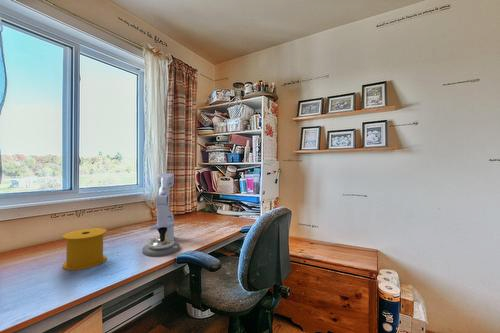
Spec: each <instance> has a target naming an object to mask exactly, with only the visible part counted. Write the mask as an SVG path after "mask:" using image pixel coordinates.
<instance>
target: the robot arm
mask: <svg viewBox="0 0 500 333" xmlns="http://www.w3.org/2000/svg"><path fill="white" fill-rule="evenodd" d="M174 179H175V175H174V173H173V172H172V173H164V172H163V173H160V172H159V173H158V174H157V183H158V186H159V189H158V194H157V196H156V199H155V203H156V213H157V214H156V223H155V224H153V225H150V226H148V231H150V232H151V231H154V230H157V232H158V233H159V238H160V241H164V236H165V234H167V238H170V237H173V238H174V239H175V238H176V237H175V236H174V234H175V233H174V231H175V229H174V227H175V226H176V222H175V221H174V220H175V219H174V213H173V212H171V211H170V189H171V187H172V186H174V183H175V180H174Z"/></svg>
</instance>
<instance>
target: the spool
mask: <svg viewBox="0 0 500 333" xmlns="http://www.w3.org/2000/svg"><path fill="white" fill-rule="evenodd" d="M107 232H108V231H107V229H106V228H101V227H99V228H96V227H95V228H84V229H83V228H82V229H76V230H74V231H70V232H67V233H66V232H65V233H64V234H63V235H62V239H63V240H65V241H66V255H65V256H66V261H65V262H63V263H62V265H61V266H62V269H63V270H65V271H79V270H85V269H90V268H94V267H96V266H97V267H98V266H99V265H101V264H103V263H105V262H106V260H107V255H105V254H104V235H105V234H107Z"/></svg>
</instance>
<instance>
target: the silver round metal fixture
mask: <svg viewBox="0 0 500 333" xmlns="http://www.w3.org/2000/svg"><path fill="white" fill-rule="evenodd" d="M174 242H175V238H173V237H170V238H167V234H165V236H164V241H160V237H158V238H155V237H152V238H150V240H149V241H148V243H147V244H148V248H149V249H150V250H165V249H169V248H171V247H173V246H174Z"/></svg>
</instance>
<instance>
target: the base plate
mask: <svg viewBox="0 0 500 333" xmlns="http://www.w3.org/2000/svg"><path fill="white" fill-rule="evenodd" d="M178 249H179V250H180V243H179V242H177V241H174V246H173V247H171V248H169V249H165V250H150V249H149V248H148V243H147V244H145V245H144V246H142V253H141V254H143V255H144V256H147V257H155V258H156V257H163V256H164V255H165V256H169V255H172V253H173V254H174V252H175V253H176V251H177V250H178ZM179 250H178V251H179ZM178 251H177V252H178ZM168 254H169V255H168ZM165 256H164V257H165Z"/></svg>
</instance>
